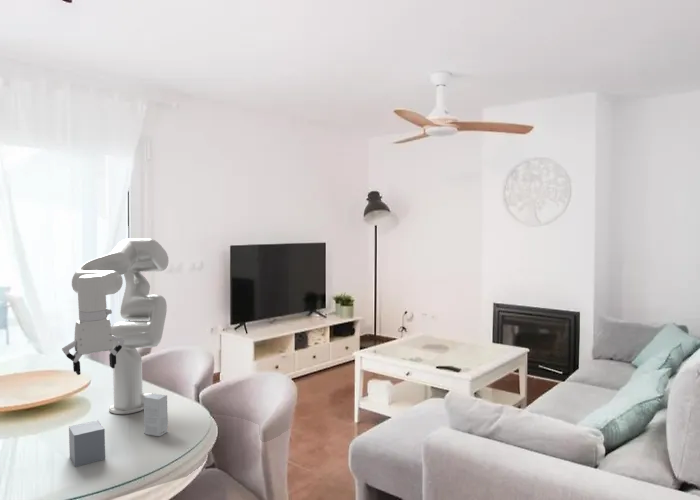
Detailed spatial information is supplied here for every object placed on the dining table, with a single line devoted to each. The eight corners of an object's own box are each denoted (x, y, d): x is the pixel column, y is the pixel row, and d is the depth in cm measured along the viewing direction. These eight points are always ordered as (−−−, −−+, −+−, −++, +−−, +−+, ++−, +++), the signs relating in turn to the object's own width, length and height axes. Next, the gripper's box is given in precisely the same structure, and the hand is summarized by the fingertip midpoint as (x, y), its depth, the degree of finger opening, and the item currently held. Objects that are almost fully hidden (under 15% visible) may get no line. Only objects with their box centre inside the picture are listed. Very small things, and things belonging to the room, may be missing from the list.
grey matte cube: (98, 449, 154) (98, 420, 153) (105, 459, 148) (104, 428, 147) (69, 456, 149) (68, 426, 149) (74, 466, 143) (74, 435, 142)
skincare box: (168, 431, 167) (167, 395, 166) (159, 437, 163) (158, 399, 162) (152, 429, 169) (152, 392, 168) (143, 434, 165) (143, 397, 164)
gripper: (119, 309, 165) (121, 361, 167) (58, 317, 155) (61, 372, 157) (126, 313, 160) (128, 367, 162) (63, 322, 149) (66, 380, 151)
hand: (95, 370), depth 159 cm, fingers open, 9 cm apart
